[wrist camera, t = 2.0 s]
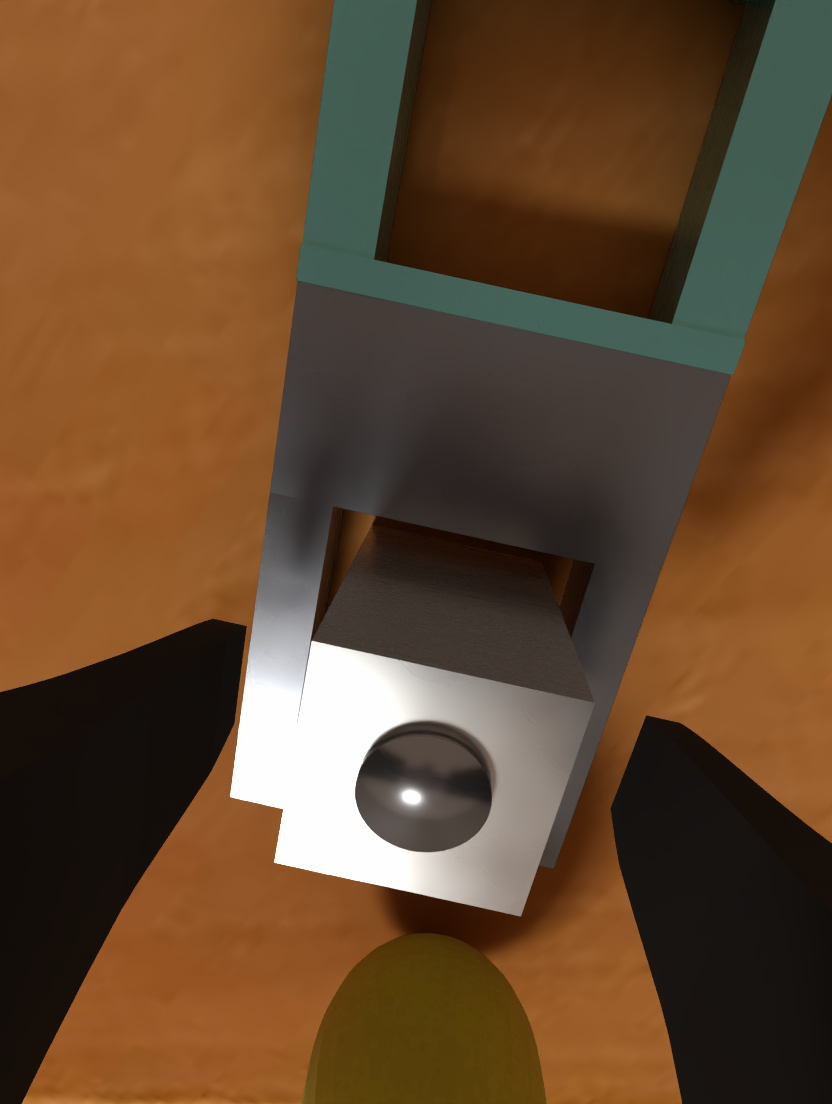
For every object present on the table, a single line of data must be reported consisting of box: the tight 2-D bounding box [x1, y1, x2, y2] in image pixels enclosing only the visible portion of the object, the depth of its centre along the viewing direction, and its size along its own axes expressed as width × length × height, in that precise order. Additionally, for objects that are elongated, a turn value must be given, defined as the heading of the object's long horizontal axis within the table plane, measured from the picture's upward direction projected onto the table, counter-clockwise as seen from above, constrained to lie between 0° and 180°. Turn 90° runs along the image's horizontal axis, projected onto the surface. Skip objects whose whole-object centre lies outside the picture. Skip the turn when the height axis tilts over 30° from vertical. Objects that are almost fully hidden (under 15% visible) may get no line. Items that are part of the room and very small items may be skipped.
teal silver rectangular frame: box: [230, 0, 832, 869], centre depth 12 cm, size 8×20×2 cm, turn 168°
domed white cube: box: [275, 524, 595, 916], centre depth 12 cm, size 4×4×6 cm
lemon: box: [302, 933, 546, 1104], centre depth 14 cm, size 6×6×8 cm
